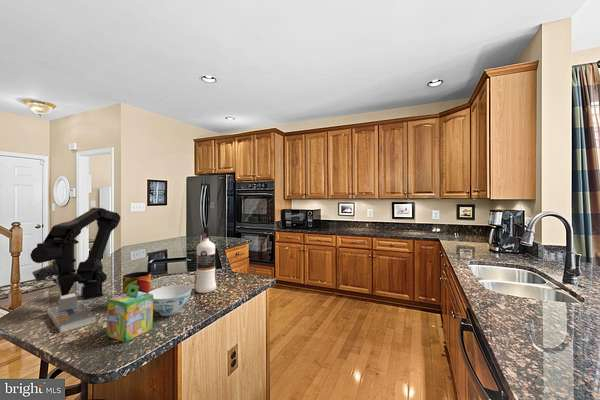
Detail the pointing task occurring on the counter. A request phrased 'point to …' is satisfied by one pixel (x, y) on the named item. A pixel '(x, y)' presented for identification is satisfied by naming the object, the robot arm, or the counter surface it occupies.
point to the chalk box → (129, 314)
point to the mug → (137, 281)
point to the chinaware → (170, 299)
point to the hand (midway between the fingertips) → (64, 297)
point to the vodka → (205, 264)
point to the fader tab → (67, 302)
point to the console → (71, 317)
